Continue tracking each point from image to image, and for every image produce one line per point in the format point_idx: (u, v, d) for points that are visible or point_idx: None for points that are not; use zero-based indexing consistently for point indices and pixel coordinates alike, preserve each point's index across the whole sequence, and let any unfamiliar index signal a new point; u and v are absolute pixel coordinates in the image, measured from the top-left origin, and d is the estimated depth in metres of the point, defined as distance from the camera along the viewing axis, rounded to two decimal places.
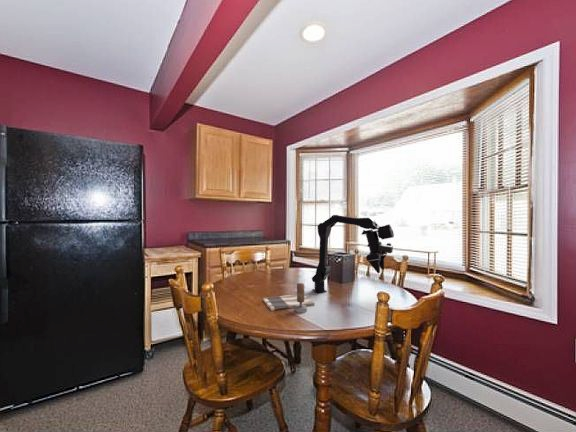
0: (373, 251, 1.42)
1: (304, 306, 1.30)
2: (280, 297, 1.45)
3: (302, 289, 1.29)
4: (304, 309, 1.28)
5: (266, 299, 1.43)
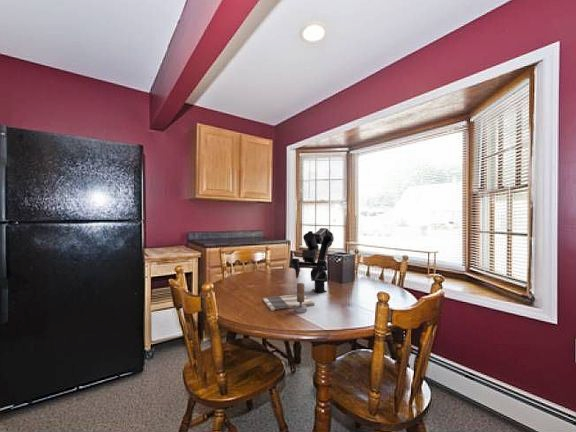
0: None
1: (304, 306, 1.30)
2: (280, 297, 1.45)
3: (302, 289, 1.29)
4: (304, 309, 1.28)
5: (266, 299, 1.43)
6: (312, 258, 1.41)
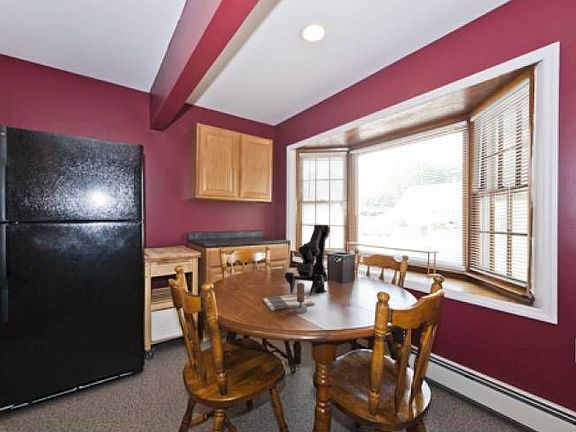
0: None
1: (304, 306, 1.30)
2: (280, 297, 1.45)
3: (302, 289, 1.29)
4: (304, 309, 1.28)
5: (266, 299, 1.43)
6: (307, 272, 1.33)
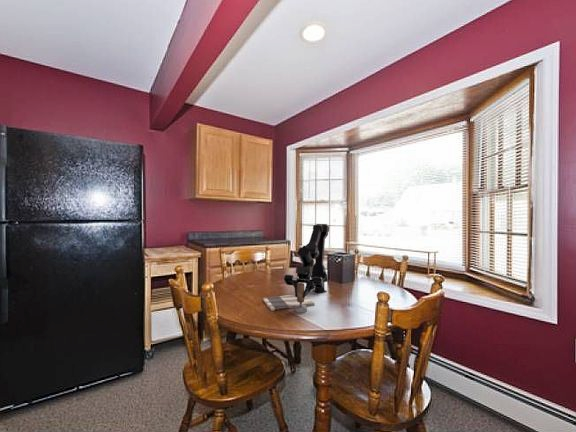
0: None
1: (304, 306, 1.30)
2: (280, 297, 1.45)
3: (302, 289, 1.29)
4: (304, 309, 1.28)
5: (266, 299, 1.43)
6: (307, 275, 1.32)
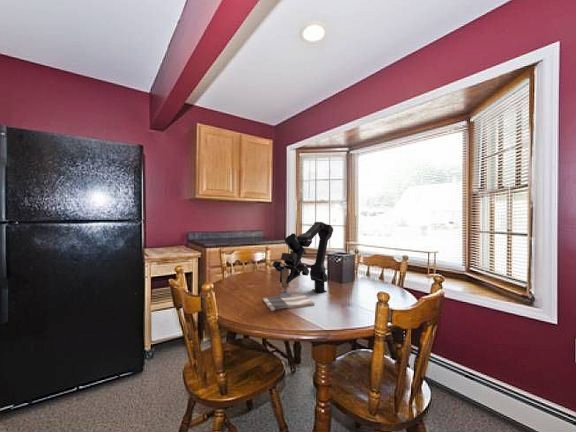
0: None
1: (288, 292, 1.34)
2: (280, 297, 1.45)
3: (286, 275, 1.32)
4: (287, 294, 1.31)
5: (266, 299, 1.43)
6: (292, 262, 1.35)
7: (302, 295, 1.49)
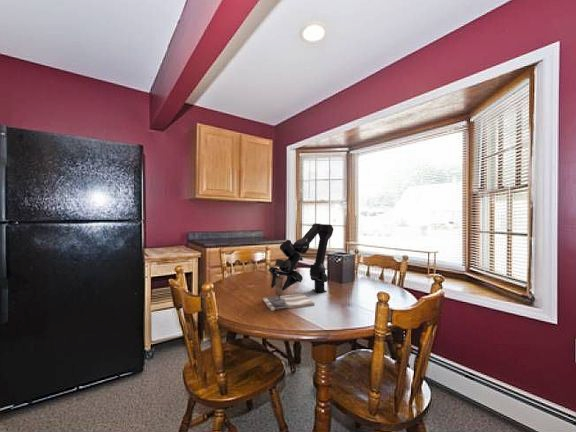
0: None
1: (282, 300, 1.36)
2: (280, 297, 1.45)
3: (279, 283, 1.35)
4: (280, 302, 1.34)
5: (266, 299, 1.43)
6: (286, 268, 1.37)
7: (302, 295, 1.49)
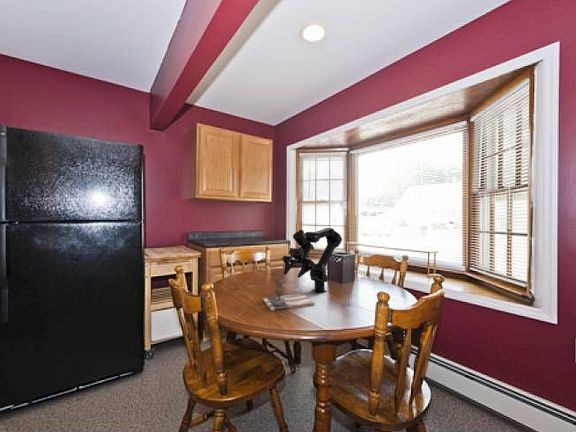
0: None
1: (282, 300, 1.36)
2: (280, 297, 1.45)
3: (279, 283, 1.35)
4: (280, 302, 1.34)
5: (266, 299, 1.43)
6: (300, 256, 1.44)
7: (302, 295, 1.49)
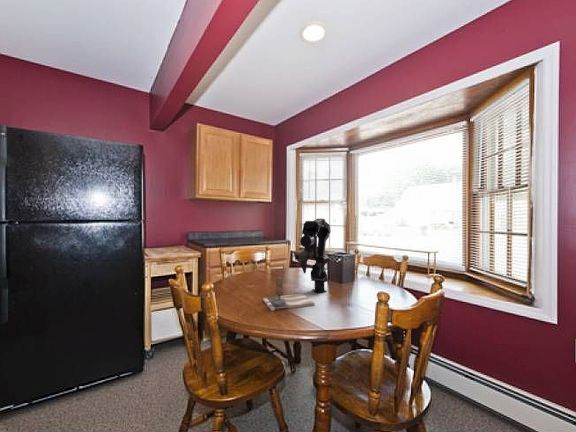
0: None
1: (282, 300, 1.36)
2: (280, 297, 1.45)
3: (279, 283, 1.35)
4: (280, 302, 1.34)
5: (266, 299, 1.43)
6: None
7: (302, 295, 1.49)
